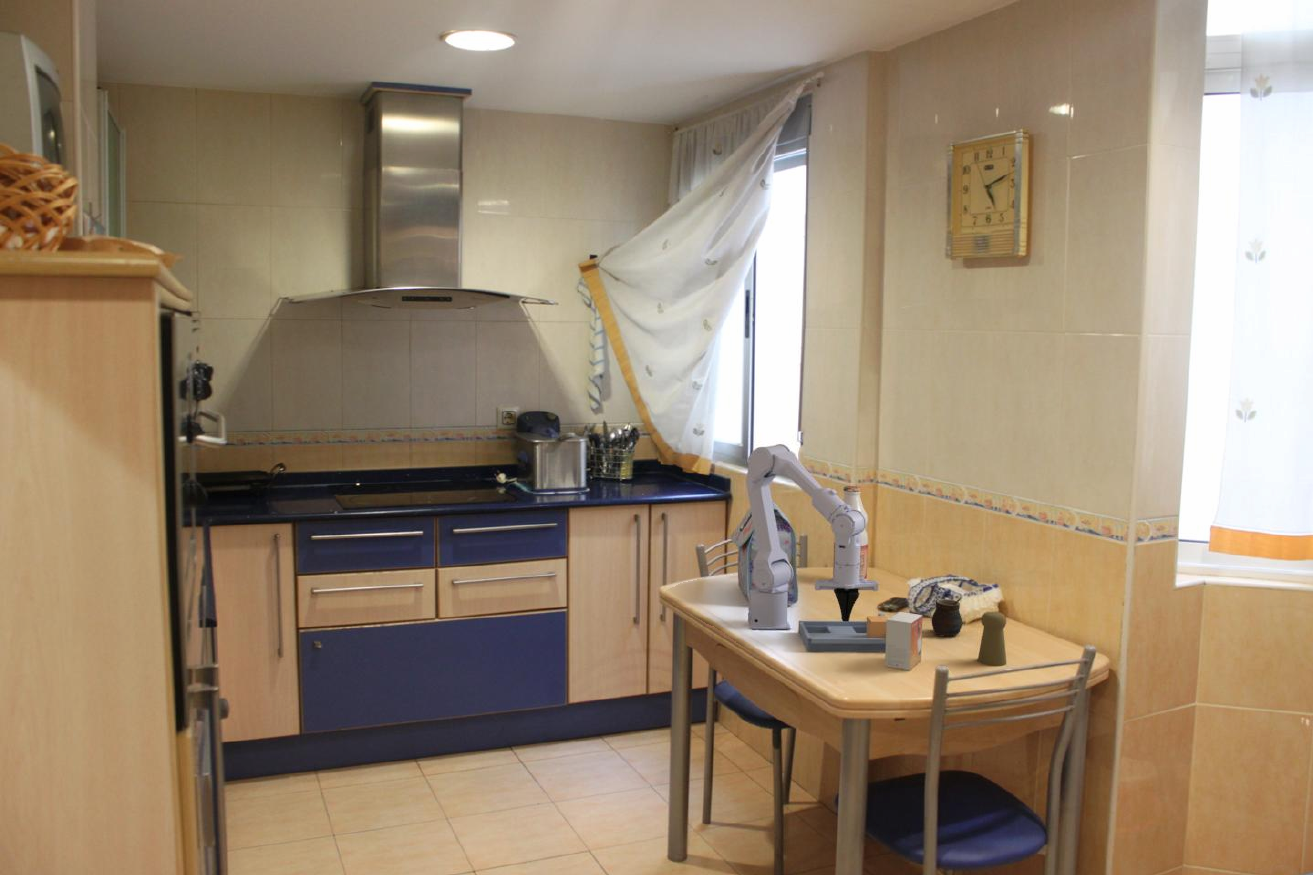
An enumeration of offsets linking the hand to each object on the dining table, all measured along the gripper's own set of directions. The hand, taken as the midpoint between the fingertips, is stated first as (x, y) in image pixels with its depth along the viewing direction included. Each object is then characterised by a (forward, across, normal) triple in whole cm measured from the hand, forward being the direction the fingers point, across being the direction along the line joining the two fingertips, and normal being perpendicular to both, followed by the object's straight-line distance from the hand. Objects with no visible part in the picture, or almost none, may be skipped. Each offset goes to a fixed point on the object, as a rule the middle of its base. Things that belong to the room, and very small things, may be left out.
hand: (845, 620), depth 253 cm
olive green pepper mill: (+5, +30, -15) cm, 34 cm away
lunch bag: (+5, -15, +40) cm, 43 cm away
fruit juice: (+5, +11, +55) cm, 56 cm away
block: (+3, +7, -5) cm, 9 cm away
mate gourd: (+5, +26, +6) cm, 27 cm away
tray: (+5, 0, -2) cm, 5 cm away
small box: (+5, +10, -17) cm, 21 cm away
